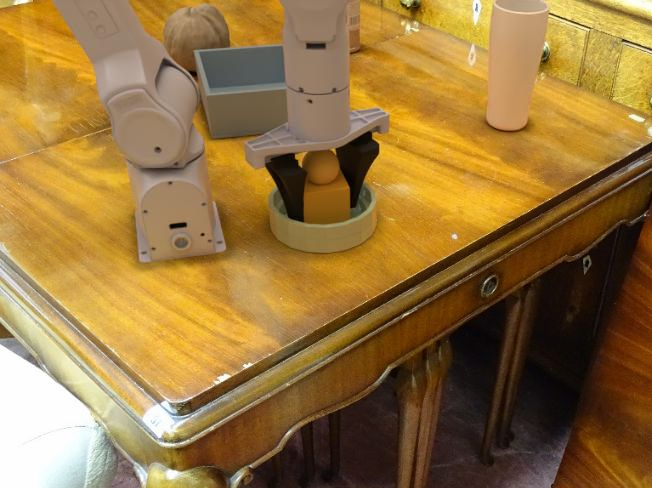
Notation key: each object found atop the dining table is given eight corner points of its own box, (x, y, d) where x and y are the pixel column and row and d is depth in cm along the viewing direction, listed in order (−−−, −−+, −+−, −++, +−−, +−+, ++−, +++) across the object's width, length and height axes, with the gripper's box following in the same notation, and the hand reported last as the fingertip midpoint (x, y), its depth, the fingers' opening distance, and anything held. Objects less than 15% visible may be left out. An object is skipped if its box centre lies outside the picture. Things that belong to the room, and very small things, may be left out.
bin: (320, 128, 96) (319, 85, 92) (212, 139, 92) (206, 95, 89) (298, 82, 106) (295, 42, 102) (199, 91, 102) (193, 50, 99)
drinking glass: (539, 133, 97) (558, 12, 88) (488, 136, 96) (501, 14, 87) (523, 110, 102) (539, -7, 93) (474, 113, 101) (485, -6, 92)
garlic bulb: (229, 79, 112) (246, 10, 107) (215, 93, 104) (233, 20, 100) (164, 54, 110) (179, -16, 105) (146, 68, 103) (161, -8, 98)
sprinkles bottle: (350, 41, 119) (348, -53, 110) (366, 50, 116) (366, -45, 107) (324, 46, 117) (321, -49, 108) (340, 56, 114) (338, -41, 105)
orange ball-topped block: (350, 231, 77) (349, 157, 72) (305, 237, 76) (300, 163, 71) (339, 207, 81) (338, 135, 75) (296, 213, 79) (291, 140, 74)
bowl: (389, 248, 76) (389, 218, 74) (281, 264, 73) (278, 233, 71) (361, 194, 84) (361, 166, 82) (262, 207, 81) (259, 177, 79)
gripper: (361, 52, 75) (362, 176, 83) (222, 82, 68) (238, 214, 76) (403, 77, 71) (399, 205, 79) (260, 112, 64) (272, 248, 72)
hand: (323, 212), depth 78 cm, fingers closed on orange ball-topped block, 5 cm apart
